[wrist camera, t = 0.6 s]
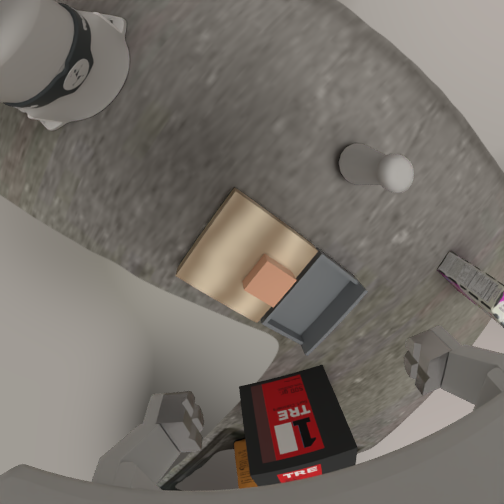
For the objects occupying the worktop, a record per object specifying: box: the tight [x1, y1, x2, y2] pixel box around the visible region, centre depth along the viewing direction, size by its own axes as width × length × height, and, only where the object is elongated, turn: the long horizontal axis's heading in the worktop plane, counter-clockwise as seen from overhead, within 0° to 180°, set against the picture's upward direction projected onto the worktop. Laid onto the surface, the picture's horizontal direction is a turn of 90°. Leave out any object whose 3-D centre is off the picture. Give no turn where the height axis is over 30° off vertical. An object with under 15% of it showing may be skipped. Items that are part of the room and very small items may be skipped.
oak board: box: [176, 187, 318, 323], centre depth 41 cm, size 14×14×3 cm
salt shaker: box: [339, 143, 414, 193], centre depth 33 cm, size 6×6×13 cm
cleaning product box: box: [239, 365, 357, 486], centre depth 45 cm, size 16×9×20 cm, turn 103°
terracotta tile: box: [242, 253, 297, 308], centre depth 39 cm, size 5×5×2 cm
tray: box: [261, 248, 368, 356], centre depth 44 cm, size 9×14×5 cm, turn 143°
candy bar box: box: [437, 251, 504, 328], centre depth 41 cm, size 11×5×16 cm, turn 58°
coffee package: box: [234, 439, 258, 489], centre depth 51 cm, size 10×12×22 cm
